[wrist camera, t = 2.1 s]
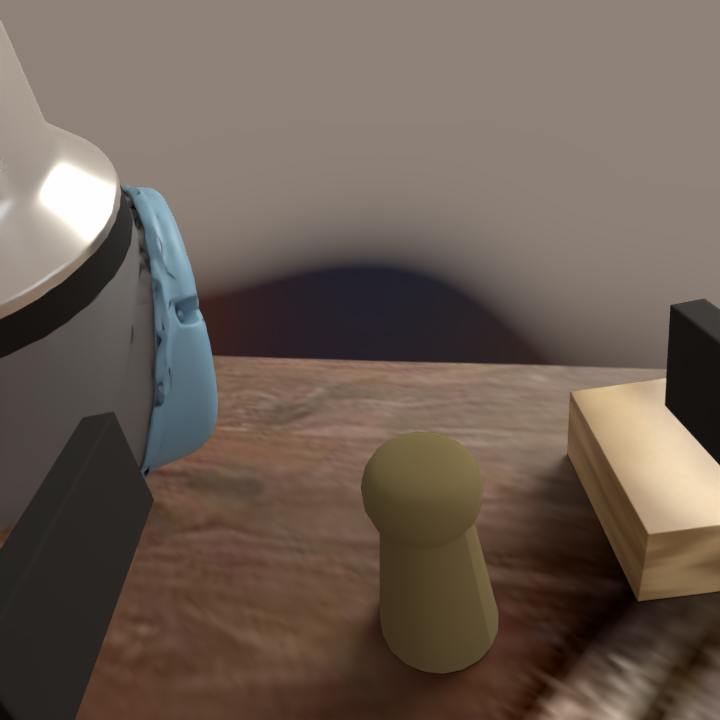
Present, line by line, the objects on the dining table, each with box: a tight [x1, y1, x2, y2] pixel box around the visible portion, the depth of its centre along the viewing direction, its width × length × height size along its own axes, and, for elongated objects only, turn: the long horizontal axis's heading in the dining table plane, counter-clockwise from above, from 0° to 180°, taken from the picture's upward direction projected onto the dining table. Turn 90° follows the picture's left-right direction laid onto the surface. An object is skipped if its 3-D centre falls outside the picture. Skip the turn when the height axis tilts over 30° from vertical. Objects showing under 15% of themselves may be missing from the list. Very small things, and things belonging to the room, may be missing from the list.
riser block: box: [567, 378, 720, 601], centre depth 34 cm, size 11×11×5 cm
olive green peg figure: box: [361, 432, 498, 674], centre depth 29 cm, size 6×6×11 cm
